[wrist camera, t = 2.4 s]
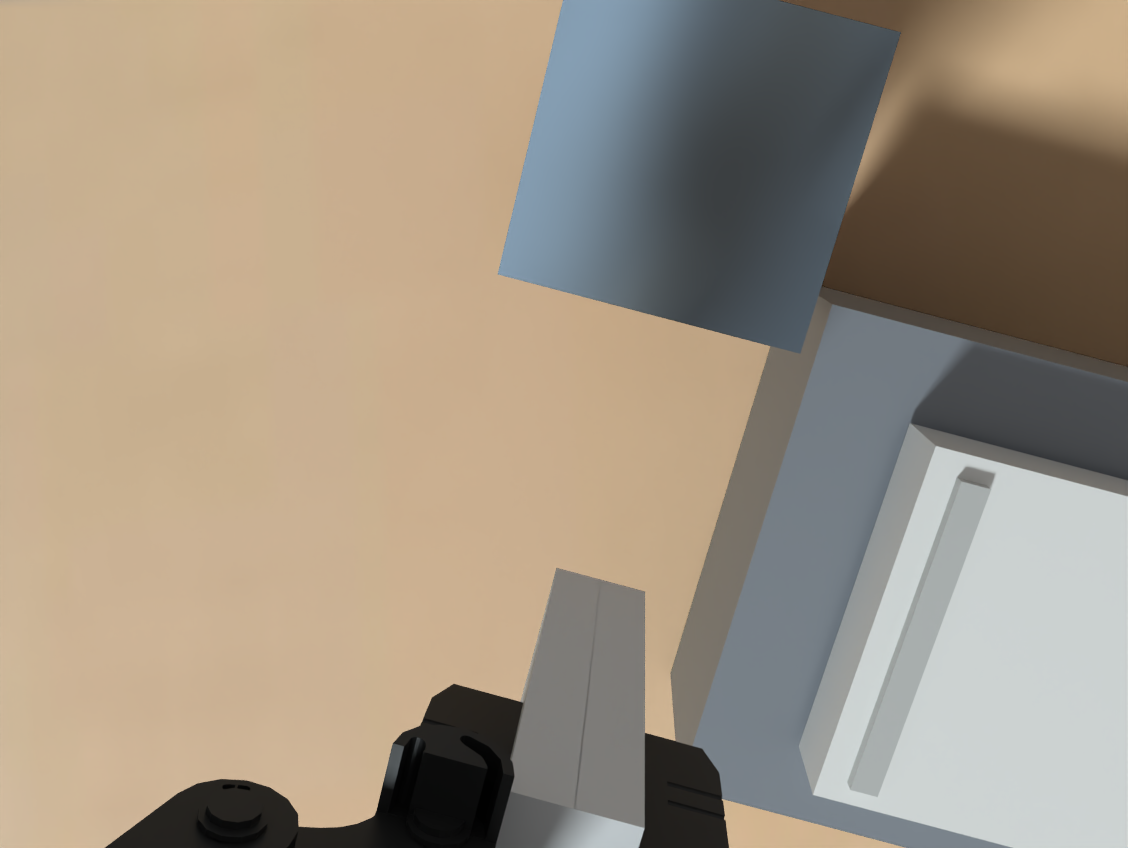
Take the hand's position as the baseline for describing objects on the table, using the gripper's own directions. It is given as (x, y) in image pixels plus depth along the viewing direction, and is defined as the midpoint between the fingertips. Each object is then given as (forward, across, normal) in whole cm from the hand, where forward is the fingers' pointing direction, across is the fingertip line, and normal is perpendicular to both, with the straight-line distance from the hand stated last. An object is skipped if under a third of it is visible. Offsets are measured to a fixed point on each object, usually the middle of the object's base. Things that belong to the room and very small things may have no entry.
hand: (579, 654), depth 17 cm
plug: (+13, 0, +8) cm, 15 cm away
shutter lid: (+7, +10, 0) cm, 12 cm away
